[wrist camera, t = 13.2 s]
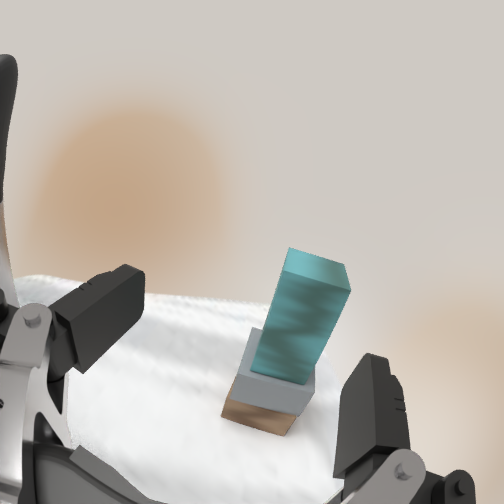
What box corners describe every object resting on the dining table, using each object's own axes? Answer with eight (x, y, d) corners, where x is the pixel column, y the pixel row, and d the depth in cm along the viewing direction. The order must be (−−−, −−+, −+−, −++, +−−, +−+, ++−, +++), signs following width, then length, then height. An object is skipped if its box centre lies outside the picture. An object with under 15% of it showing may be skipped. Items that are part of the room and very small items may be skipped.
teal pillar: (249, 370, 23) (283, 270, 19) (260, 337, 27) (289, 247, 24) (304, 385, 22) (351, 290, 18) (306, 350, 27) (343, 264, 23)
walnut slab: (220, 416, 25) (226, 396, 24) (239, 374, 32) (246, 352, 30) (283, 436, 24) (295, 418, 23) (293, 391, 31) (304, 371, 29)
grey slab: (229, 398, 24) (237, 373, 22) (244, 353, 30) (252, 327, 29) (299, 416, 23) (314, 392, 22) (302, 369, 29) (315, 344, 28)
